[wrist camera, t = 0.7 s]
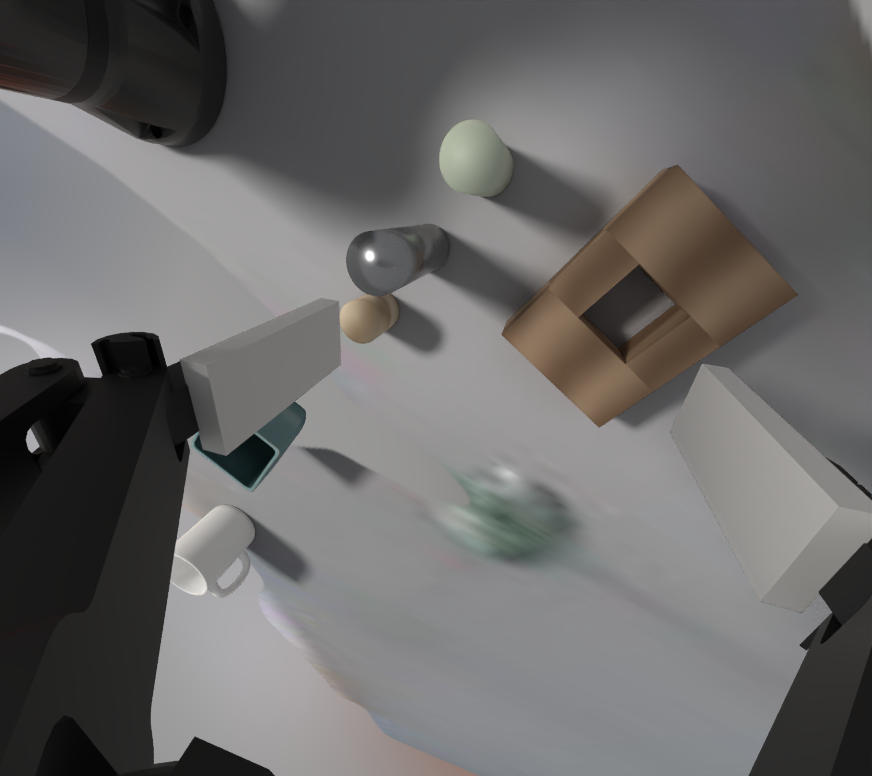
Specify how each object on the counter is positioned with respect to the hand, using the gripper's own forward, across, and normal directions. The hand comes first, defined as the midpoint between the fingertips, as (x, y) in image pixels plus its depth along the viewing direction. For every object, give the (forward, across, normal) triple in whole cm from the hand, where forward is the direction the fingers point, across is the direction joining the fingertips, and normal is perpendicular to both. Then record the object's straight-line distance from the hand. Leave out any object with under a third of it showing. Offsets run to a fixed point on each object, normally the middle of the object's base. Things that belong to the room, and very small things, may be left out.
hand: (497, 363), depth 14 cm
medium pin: (+22, -4, +7) cm, 24 cm away
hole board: (+22, +9, -2) cm, 23 cm away
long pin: (+22, -9, +1) cm, 24 cm away
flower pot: (+22, -26, -21) cm, 41 cm away
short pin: (+22, -14, -6) cm, 27 cm away
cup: (+22, -37, -48) cm, 64 cm away
